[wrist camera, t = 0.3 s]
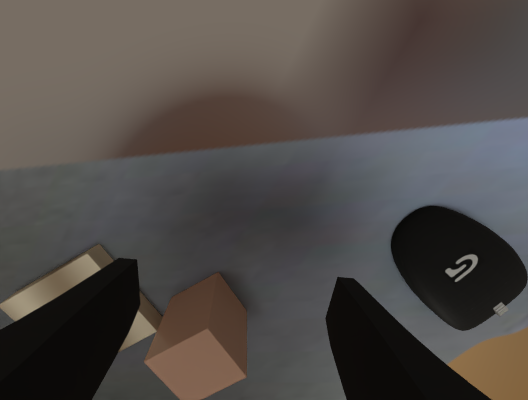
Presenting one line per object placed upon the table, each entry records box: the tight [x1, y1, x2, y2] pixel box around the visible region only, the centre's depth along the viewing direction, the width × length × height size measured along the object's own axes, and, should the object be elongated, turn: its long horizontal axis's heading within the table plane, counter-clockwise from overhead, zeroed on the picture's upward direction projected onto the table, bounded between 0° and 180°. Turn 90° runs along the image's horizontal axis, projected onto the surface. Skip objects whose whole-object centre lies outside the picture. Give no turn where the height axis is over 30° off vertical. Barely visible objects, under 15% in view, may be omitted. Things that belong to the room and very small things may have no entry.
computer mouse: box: [391, 206, 528, 331], centre depth 20 cm, size 8×12×4 cm, turn 46°
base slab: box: [0, 244, 163, 352], centre depth 20 cm, size 8×8×2 cm
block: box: [144, 272, 247, 400], centre depth 19 cm, size 4×4×6 cm
